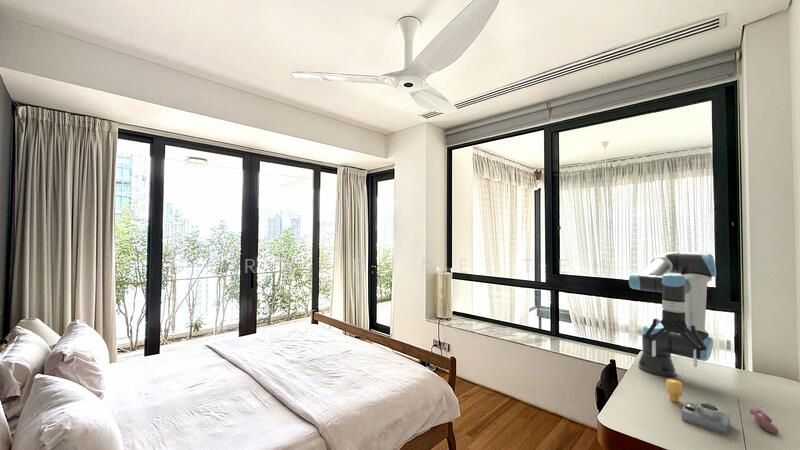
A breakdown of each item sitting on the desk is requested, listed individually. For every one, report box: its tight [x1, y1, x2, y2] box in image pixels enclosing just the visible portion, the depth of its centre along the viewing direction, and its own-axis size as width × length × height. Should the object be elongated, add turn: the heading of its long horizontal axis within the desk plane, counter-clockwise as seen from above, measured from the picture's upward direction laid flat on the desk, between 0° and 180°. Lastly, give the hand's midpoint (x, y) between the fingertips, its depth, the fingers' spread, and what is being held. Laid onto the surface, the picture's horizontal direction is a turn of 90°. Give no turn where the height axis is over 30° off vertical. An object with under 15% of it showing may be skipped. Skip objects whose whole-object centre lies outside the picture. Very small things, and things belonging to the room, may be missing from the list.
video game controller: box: [748, 406, 779, 435], centre depth 118 cm, size 10×5×7 cm, turn 141°
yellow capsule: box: [666, 378, 683, 403], centre depth 135 cm, size 5×5×8 cm
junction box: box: [681, 401, 731, 436], centre depth 119 cm, size 12×11×6 cm
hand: (673, 360), depth 135 cm, fingers open, 13 cm apart
